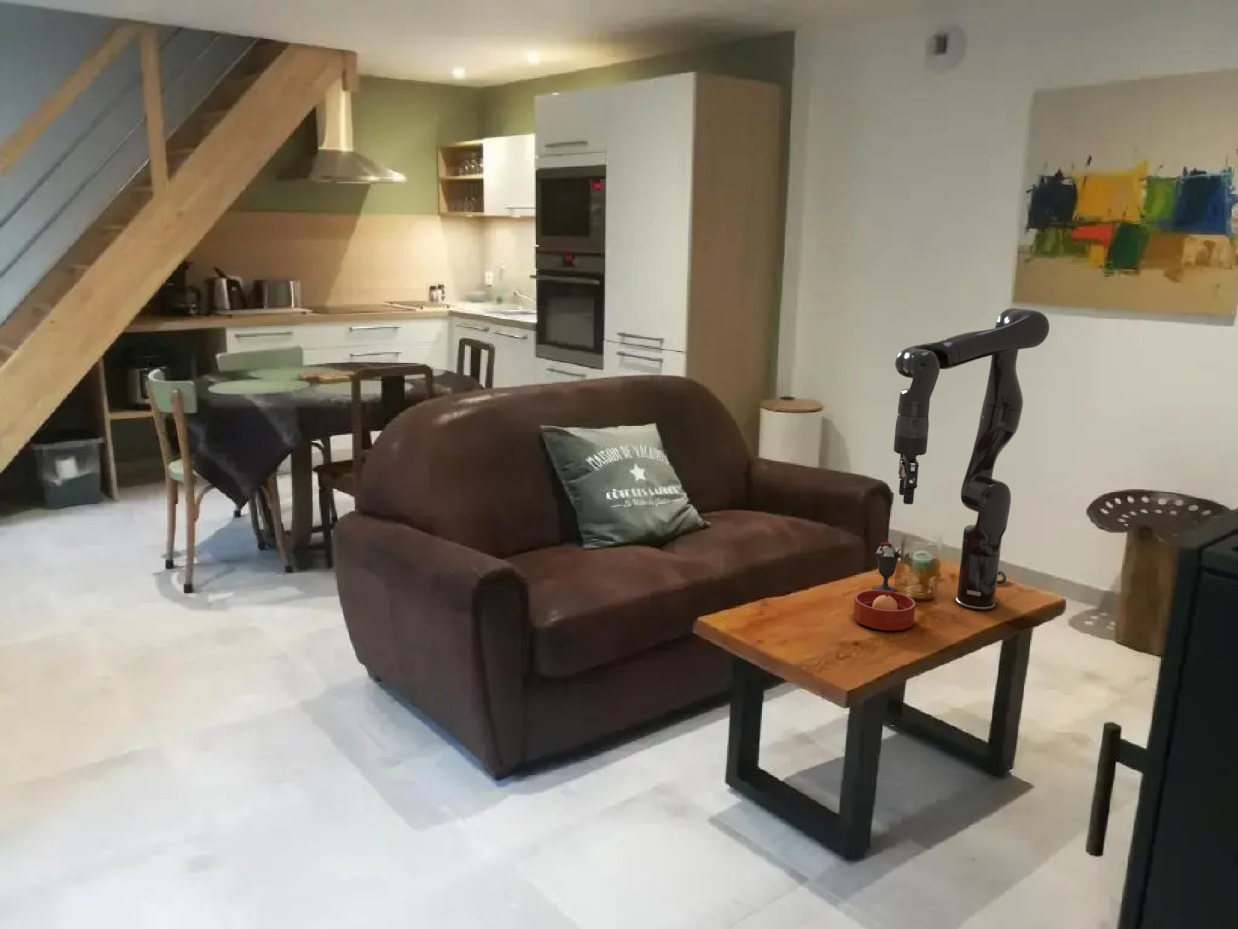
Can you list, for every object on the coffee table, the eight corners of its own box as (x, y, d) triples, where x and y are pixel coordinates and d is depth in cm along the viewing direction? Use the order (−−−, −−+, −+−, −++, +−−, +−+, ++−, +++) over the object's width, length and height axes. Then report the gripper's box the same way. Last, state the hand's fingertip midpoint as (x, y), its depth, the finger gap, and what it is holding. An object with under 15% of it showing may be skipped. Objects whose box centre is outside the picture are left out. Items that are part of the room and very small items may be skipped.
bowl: (868, 606, 247) (870, 585, 246) (922, 620, 238) (924, 599, 237) (843, 622, 236) (844, 601, 235) (898, 637, 227) (900, 615, 226)
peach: (877, 612, 241) (880, 586, 239) (900, 619, 237) (903, 593, 236) (866, 618, 237) (870, 592, 235) (889, 626, 233) (893, 600, 231)
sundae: (867, 586, 261) (871, 533, 257) (889, 584, 262) (894, 531, 259) (879, 595, 255) (883, 540, 251) (902, 593, 256) (907, 539, 253)
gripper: (932, 440, 222) (926, 508, 226) (923, 428, 236) (917, 492, 240) (898, 438, 223) (893, 506, 227) (891, 426, 237) (886, 491, 241)
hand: (905, 499), depth 233 cm, fingers open, 8 cm apart
